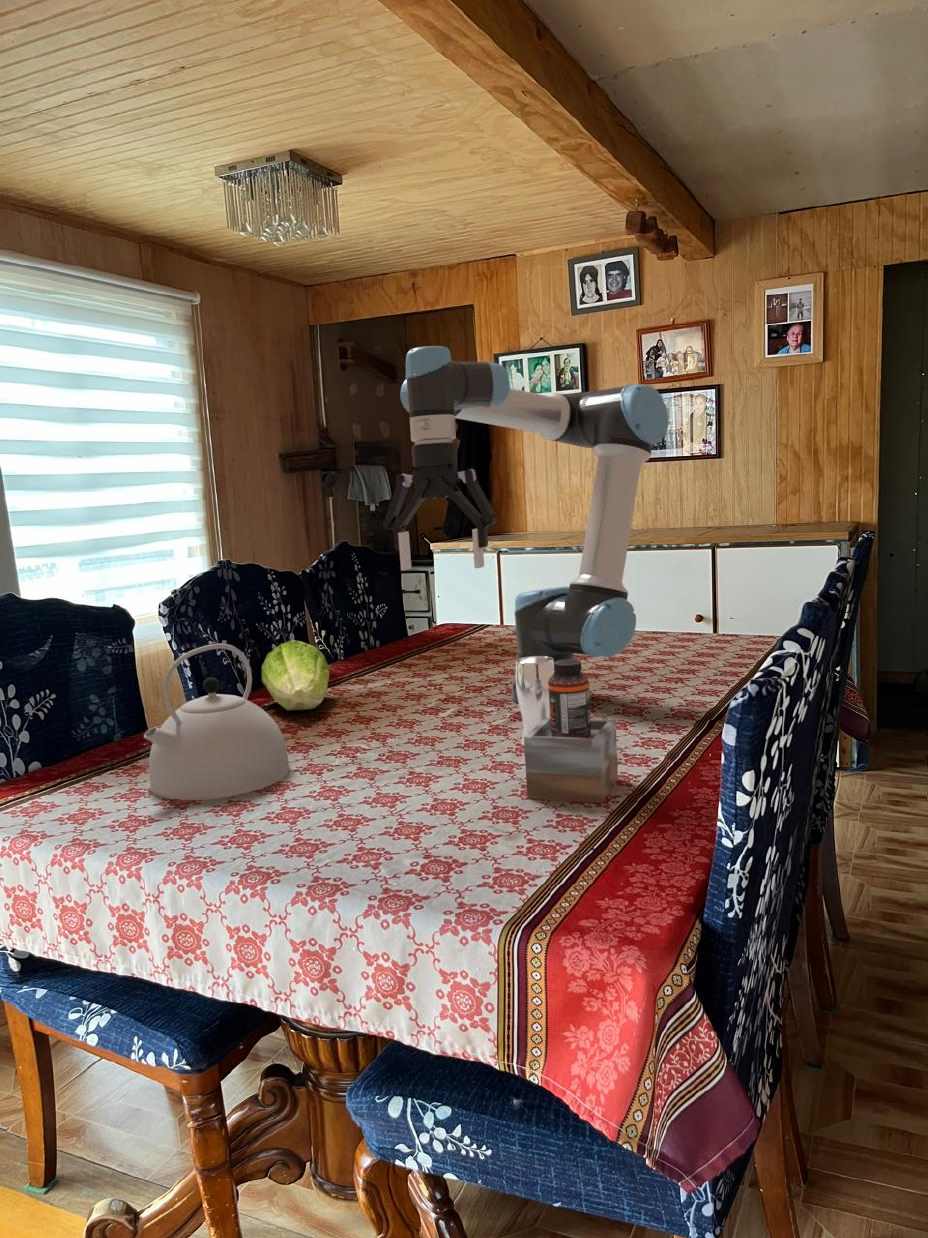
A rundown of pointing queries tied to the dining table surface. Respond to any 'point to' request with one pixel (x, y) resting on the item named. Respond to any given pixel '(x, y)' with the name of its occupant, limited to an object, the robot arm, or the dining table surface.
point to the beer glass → (533, 689)
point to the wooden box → (571, 763)
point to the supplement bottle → (569, 700)
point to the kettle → (215, 743)
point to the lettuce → (296, 675)
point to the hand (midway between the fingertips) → (442, 568)
